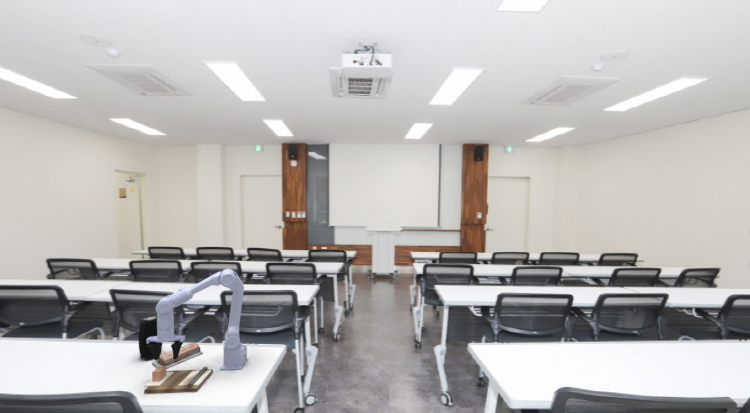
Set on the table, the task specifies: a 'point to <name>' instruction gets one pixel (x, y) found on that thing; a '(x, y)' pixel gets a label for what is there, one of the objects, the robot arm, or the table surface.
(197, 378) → the board
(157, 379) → the stub
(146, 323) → the portable speaker
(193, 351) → the packaged product
